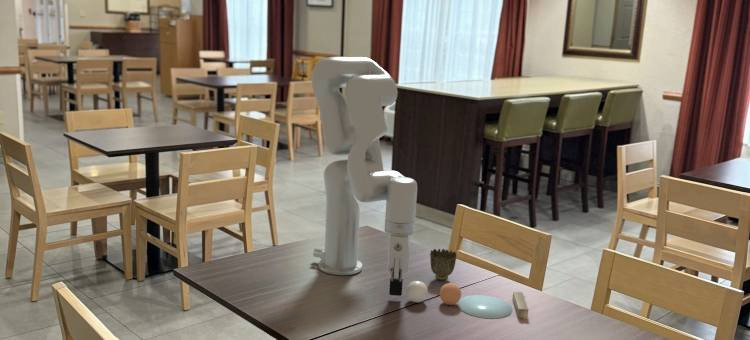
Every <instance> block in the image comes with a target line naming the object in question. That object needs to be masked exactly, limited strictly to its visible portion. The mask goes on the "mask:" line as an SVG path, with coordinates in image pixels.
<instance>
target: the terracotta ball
mask: <svg viewBox="0 0 750 340" xmlns="http://www.w3.org/2000/svg"><path fill="white" fill-rule="evenodd" d="M461 291H462V290H461V288H460V287H459V285H457V284H455V283H451V282H449V283H445V284H444V285H442V287H441V288H440V291H439V298H440V300H441V301H442V303H444V304H445V305H449V306H453V305H455V304H457V302H458V301H459V300H460V299H461V298H462V292H461Z"/></svg>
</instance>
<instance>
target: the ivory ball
mask: <svg viewBox="0 0 750 340" xmlns="http://www.w3.org/2000/svg"><path fill="white" fill-rule="evenodd" d="M428 293H429V292H428V287H427V285H426V284H425V283H424V282H423V281H420V280H414V281H411V282H410V283H409V284H408V285H407V288H406V296H407V299H409V301H411V302H413V303H421V302H424V300H426V299H427V297H428Z"/></svg>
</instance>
